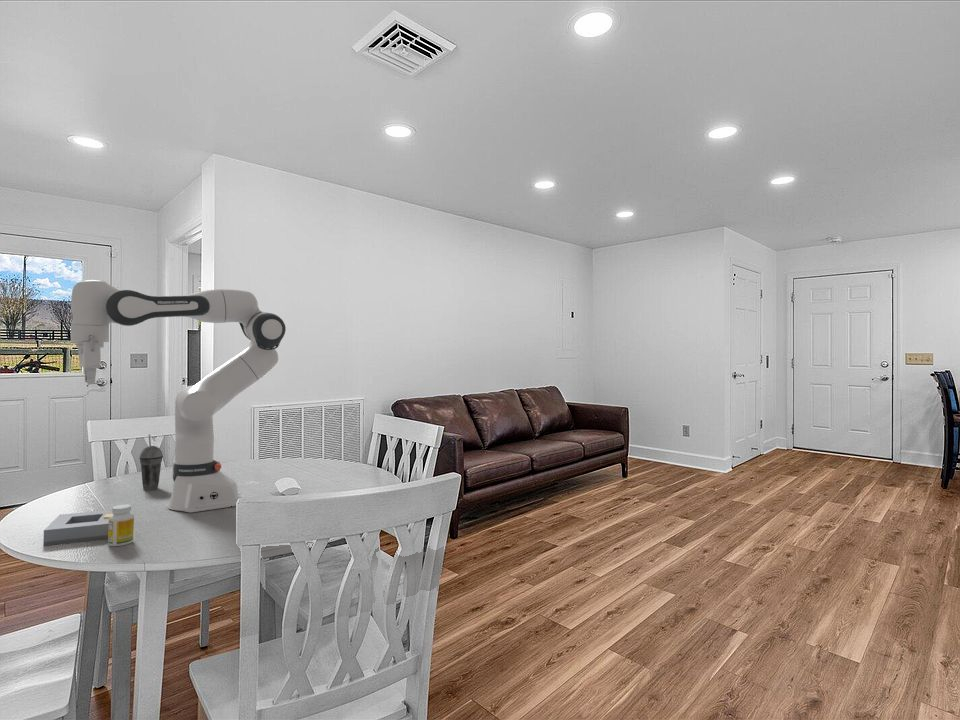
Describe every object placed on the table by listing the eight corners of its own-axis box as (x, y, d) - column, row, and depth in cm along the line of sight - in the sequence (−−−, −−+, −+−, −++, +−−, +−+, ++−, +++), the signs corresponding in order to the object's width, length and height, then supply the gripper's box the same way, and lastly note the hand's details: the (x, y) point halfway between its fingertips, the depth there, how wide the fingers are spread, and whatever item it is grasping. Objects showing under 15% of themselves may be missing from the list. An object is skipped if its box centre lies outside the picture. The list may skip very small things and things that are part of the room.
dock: (120, 522, 147) (120, 507, 147) (110, 538, 135) (110, 522, 135) (59, 528, 141) (59, 513, 141) (43, 545, 128) (43, 529, 128)
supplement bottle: (103, 547, 129) (104, 509, 129) (116, 539, 134) (116, 503, 134) (125, 546, 129) (126, 509, 129) (137, 539, 135) (138, 503, 135)
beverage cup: (167, 486, 188) (168, 433, 188) (152, 491, 180) (153, 435, 180) (148, 485, 188) (150, 432, 188) (133, 490, 181) (134, 435, 181)
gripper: (107, 335, 141) (106, 384, 141) (100, 336, 157) (100, 381, 157) (78, 334, 137) (77, 385, 137) (74, 336, 152) (74, 381, 153)
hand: (89, 383), depth 147 cm, fingers open, 8 cm apart
